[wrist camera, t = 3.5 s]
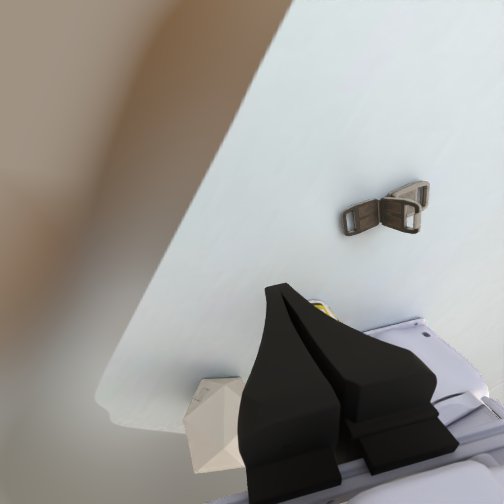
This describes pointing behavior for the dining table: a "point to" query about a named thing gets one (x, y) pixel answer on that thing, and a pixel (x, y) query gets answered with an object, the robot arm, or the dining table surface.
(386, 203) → the strap clip
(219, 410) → the die
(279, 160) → the dining table surface
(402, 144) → the dining table surface
